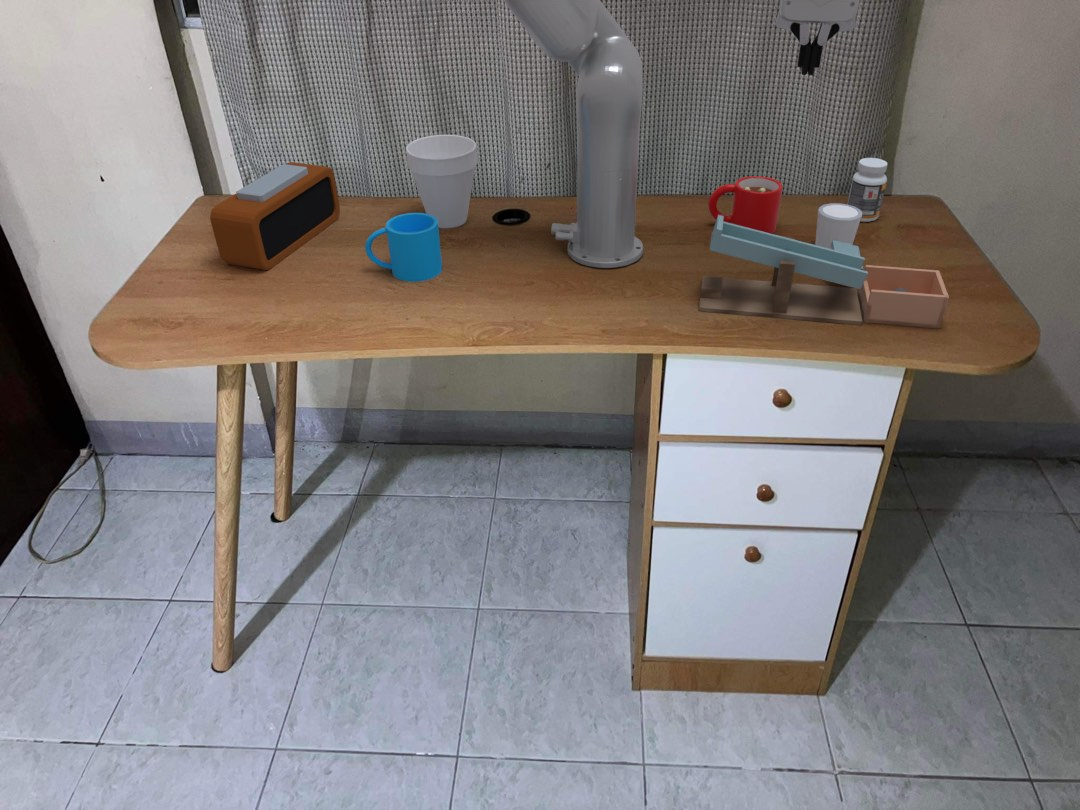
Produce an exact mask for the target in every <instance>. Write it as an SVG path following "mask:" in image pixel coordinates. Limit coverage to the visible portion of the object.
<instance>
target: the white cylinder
mask: <svg viewBox="0 0 1080 810" xmlns="http://www.w3.org/2000/svg"><path fill="white" fill-rule="evenodd" d="M861 217H862V212H861V210H860V209H858V208H856V207H854V206H851V205H847V204H846V203H839V202H837V203H835V202H833V203H825V204H822V205H821V206H819V208H818V210H817V220H816V221H817V222H816V232H815V241H814V245H817V246H821V247H825V248H829V249H831V243H832V240H836V241H840V242H844V243H847V244H851V245H854V241H855V238H856V235H857V232H858V228H859V226H860V222H861V221H860V220H861Z"/></svg>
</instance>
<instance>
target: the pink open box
mask: <svg viewBox="0 0 1080 810" xmlns="http://www.w3.org/2000/svg"><path fill="white" fill-rule="evenodd" d="M863 271H867V272H868V275H867V277H866V279H865V281H864V283H863V285H862V287H861V289H859V293H858V300H859V305H860V310H861V316H862V321H863V322H864V323H869V324H878V325H879V324H880V325H890V326H891V325H892V326H903V327H914V328H915V327H916V328H927V329H937V330H939V329H941V325H942V321H943V318H944V316H945V313H946V310H947V306H948V303H949V299H950V296H949V294H948V291H947V289H946V288H947V287H946V285H945V283H944V280H943V278H942V277H943V276H942V274H941V271H940V270H939V269H937V270H936V269H924V268H909V267H899V266H898V267H896V266H885V265H871V264H870V265H869V264H865V267H864V269H863ZM897 288H903V289H906V290H907V291H908V292H897V291H893V290H894V289H897Z"/></svg>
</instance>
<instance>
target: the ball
mask: <svg viewBox="0 0 1080 810" xmlns="http://www.w3.org/2000/svg"><path fill="white" fill-rule="evenodd" d="M893 291H897V292H908V291H907V290H906V289H903V288H897V289H894V290H893Z"/></svg>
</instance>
